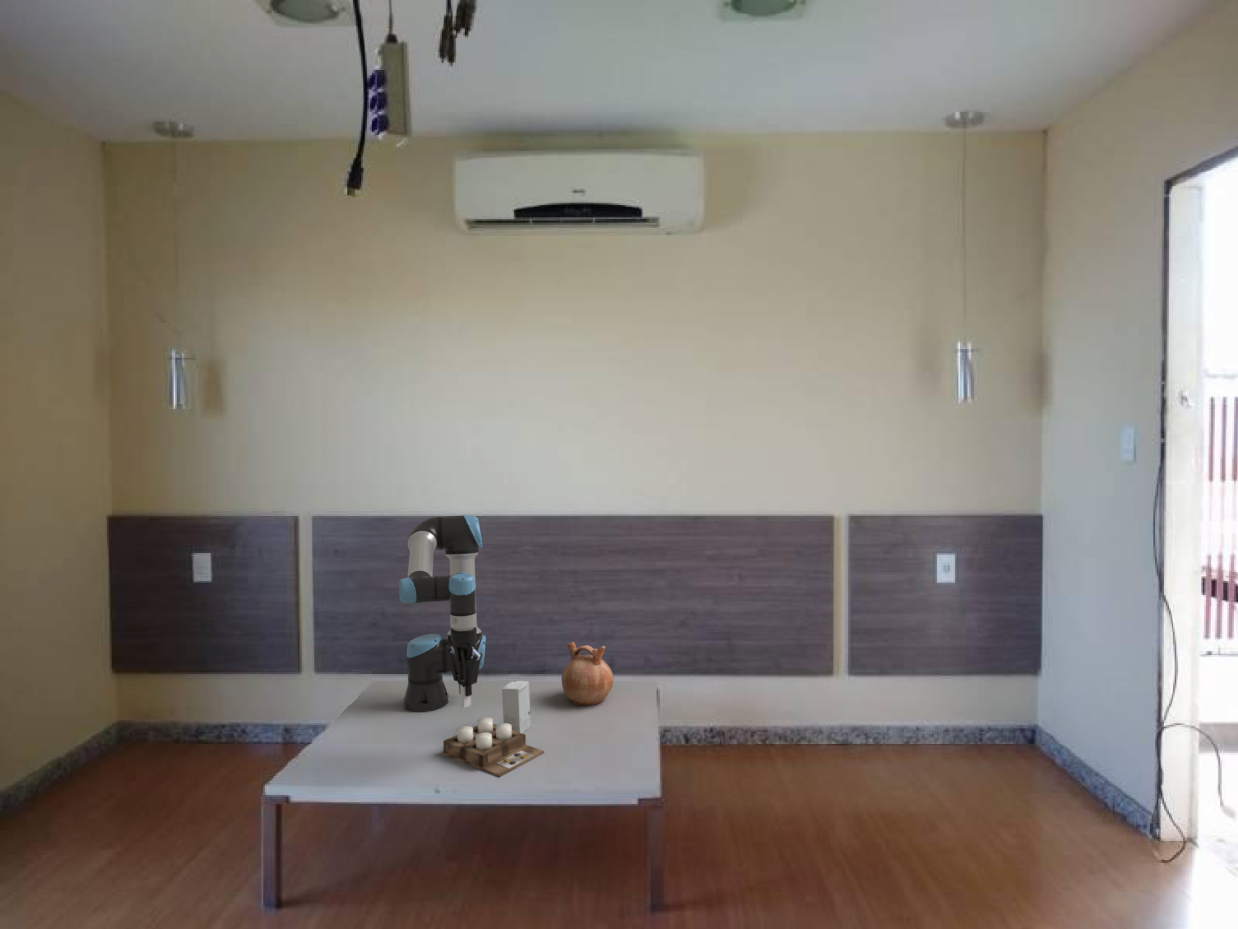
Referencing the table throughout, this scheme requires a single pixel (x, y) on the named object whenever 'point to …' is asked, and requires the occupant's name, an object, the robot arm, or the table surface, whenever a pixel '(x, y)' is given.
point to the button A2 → (485, 725)
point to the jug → (586, 676)
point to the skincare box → (516, 705)
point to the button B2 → (503, 731)
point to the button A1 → (465, 734)
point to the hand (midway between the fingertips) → (465, 705)
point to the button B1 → (483, 741)
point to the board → (492, 753)
